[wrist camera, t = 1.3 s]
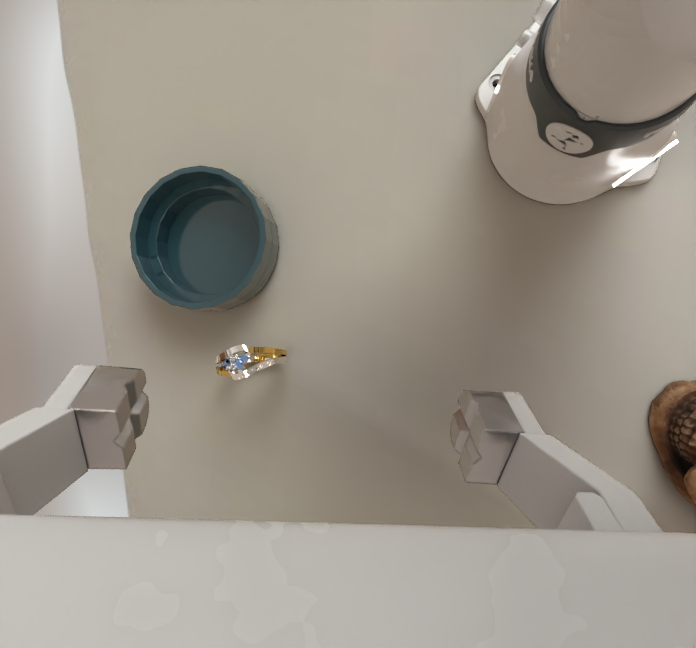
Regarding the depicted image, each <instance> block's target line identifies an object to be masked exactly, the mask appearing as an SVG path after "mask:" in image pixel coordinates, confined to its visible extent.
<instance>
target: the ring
mask: <svg viewBox="0 0 696 648" xmlns="http://www.w3.org/2000/svg"><path fill="white" fill-rule="evenodd" d="M240 352H245V353H246V355H240V354H237V353H240ZM234 355H235V356H234ZM286 361H287V352H286V351H285V350H282V349H276V348H263V347H248V346H246V345H237V346H234V347H232V348H230V349H228V350H226V351H225V352H223V353H222V354H220V355H219V356H217V357H216V358H215V364H218V366H217V367H216V371H217V374H218V375H221V376H227V377H231V378H232V379H234V380H240V379H243V378H245V377H248V376H249V375H251V374H253V373H255V372H257V371H259V370H262V369H264V368H266V367H269V366H272V365H275V364H278V363H282V362H286ZM253 362H258V363H257V364H255V365H253V366H251V367H249V368H247V369H245V365H244V364H245V363H253ZM238 370H239V371H238ZM236 371H238V372H236Z"/></svg>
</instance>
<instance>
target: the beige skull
mask: <svg viewBox="0 0 696 648" xmlns="http://www.w3.org/2000/svg"><path fill="white" fill-rule="evenodd" d="M649 426H650V432H651V435H652V438H653V441H654V444H655V447H656V449H657V451H658V453H659V454H660V458H661V461H662V464H663V467H664V469H665V470H666V471H667V473H668V474H669V476H670V478H671V480H672V482H673V484H674V486H675V488H676V489H677V490H678V491H679V492H680V493H681V494H682V495H683V496H684V497H685V498H686V499H687V500H688V501H690V502H691V503H693V504H694V505H695V506H696V381H691V382H687V381H678V382H673V383H670V384H668V386H667V387H666V388H665V389H664V391H663V392H661V393H660V394H659V395H658V396H657V397H656V398H655V400H654V401H653V402H652V406H651V413H650V416H649Z"/></svg>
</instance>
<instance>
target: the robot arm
mask: <svg viewBox="0 0 696 648" xmlns="http://www.w3.org/2000/svg"><path fill="white" fill-rule="evenodd" d="M533 19H534V21H535V22H534V23H533V24H532V25H531V27H530V28H529V29H526V30H525V31H524V32H523V33H522V35H521V36H520V38H519V39H518V41H517V43H516V44H515V45H514V46H513V48H512V49H511V50H510V51H509V52H508V53H507V55H506V56H505V57H504V58H503V59H502V60H501V62H500V63H499V64H498V65H497V66H496V67H495V69H494V70H493V71H492V72H491V73H490V74H489V75H488V77H487V78H486V79H485V80H484V81H483V82H482V84H481V85H480V86H479V88H478V90H477V92H476V95H475V100H476V104H477V106H478V108H479V110H480V112H481V114H482V116H483V118H484V120H485V122H486V127H487V141H488V148H489V153H490V156H491V159H492V161H493V164H494V166H495V168H496V169H497V171H498V173H499V174H500V175H501V177H502V178H503V179H504V180H505V181H506V182H507V183H508V184H509V185H510V186H511V187H512V188H513V189H515V190H516V191H518V192H519V193H521V194H522V195H524V196H526V197H528V198H531V199H533V200H536V201H539V202H544V203H549V204H571V203H577V202H581V201H585V200H588V199H591V198H593V197H595V196H597V195H599V194H601V193H603V192H605V191H607V190H610V189H612V188H615V187H622V186H633V185H639V184H643V183H645V182H647V181H648V180H649V179H650V178H651V177H653V176H654V174H655V173H656V171H657V168H658V165H659V163H660V160H661V157H662V154H663V153H664V152H665V151H667V150H668V149H670V148H671V147H672V146H674V145H675V144H677V143H678V142H679V141H678V140H677V139H676V140H675V141H673V140H674V138H675V137H676V132H675V131H674V130H675V128H676V126H677V124H678V121H679V118H680V116H681V115H682V114H683V113H684V112H685V111H686V110H687V109H688V108H689V107H690V106H691V105H692V104H693V102H694V101H695V100H696V0H543V1H542V3H541V4H540V6H539V7H538V9H537V11H536V13H535V15H534V17H533ZM494 83H498V84H497V86H496V88H495V87H493V85H492V84H494ZM672 141H673V142H672ZM671 142H672V143H671ZM145 384H146V377H145V372H144V371H143V370H142V369H135V368H123V367H112V366H97V365H83V364H78V365H75V366H73V367H72V369H71V370H70V371H69V372H68V374H67V375H66V376H65V378H64V379H63V380H62V382H61V383H60V384H59V386H58V387H57V388H56V390H55V391H54V392H53V393H52V395H51V396H50V397H49V399H48V400H47V401H46V403H45V404H44V405H43V407H42V408H33V409H31V410H29V411H27V412H25V413H23V414H21V415H18V416H16V417H15V418H12V419H10V420H8V421H6V422H4V423H2V424H1V425H0V648H696V533H679V532H663V531H662V529H661V528H660V527H659V525H658V524H657V522H656V521H655V520H654V518H653V517H652V515H651V514H650V513H649V511H648V510H647V508H646V507H645V506H644V504H643V503H642V501H641V500H640V499H639V497H638V496H637V494H636V493H635V492H633V491H632V490H630V489H629V488H627V487H626V486H624V485H623V484H622V483H620V482H619V481H617V480H616V479H614V478H613V477H611V476H610V475H608V474H607V473H605V472H604V471H603V470H601V469H600V468H598V467H597V466H595V465H594V464H592V463H591V462H589V461H588V460H586V459H585V458H584V457H582V456H581V455H579V454H578V453H576V452H575V451H573V450H572V449H570V448H569V447H568V446H566V445H565V444H563V443H562V442H560V441H559V440H557V439H556V438H554V437H553V436H551V435H545V433H544V432H543V430H542V428H541V427H540V425H539V423H538V422H537V420H536V418H535V417H534V415H533V413H532V412H531V410H530V408H529V407H528V405H527V403H526V402H525V400H524V398H523V397H522V395H521V394H520V393H518V392H501V391H500V392H491V391H474V390H463V391H462V392H461V394H460V396H459V399H458V403H459V406H460V410H458V411H457V412H456V413H454V415H453V418H452V422H451V430H450V435H451V442H452V445H453V448H454V450H456V451H457V452H458V453H459V454H460V455H461V456H460V459H459V462H458V463H459V465H460V468H461V471H462V474H463V477H464V480H465V483H478V484H493V485H497V487H498V488H499V489H500V490H501V491H502V492H503V493H504V494H505V495H506V496H507V497H508V498H509V499H510V500H511V501H512V503H513V504H514V505H515V506H516V507H517V508H518V509H519V510H520V511H521V512H522V513H523V514H524V515H525V516H526V517H527V518H528V519H529V520H530V521H531V522H532V523H533V524H534V525H535V526H536V527H537V529H533V528H492V527H453V526H419V525H385V524H351V523H313V522H275V521H238V520H201V519H164V518H127V517H125V518H124V517H90V516H54V515H53V516H51V515H34V514H35V513H36V512H38V511H39V510H40V509H41V508H42V507H44V506H45V505H46V504H47V503H49V502H50V501H51V500H52V499H53V498H55V497H56V496H57V495H59V494H60V493H61V492H62V491H64V490H65V489H66V488H67V487H69V486H70V485H71V484H72V483H74V482H75V481H76V480H77V479H78V478H80V477H81V476H82V475H83V474H85V473H86V472H87V471H88V469H127V467H128V465H129V463H130V460H131V458H132V456H133V454H134V452H135V449H136V443H135V439H136V438H137V437H139V436H140V435H142V434H143V431H144V429H145V427H146V424H147V419H148V414H149V400H148V396H147V395H146V394H145V393H144V392H143V391H142V390H143V388H144V386H145Z"/></svg>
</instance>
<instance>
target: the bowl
mask: <svg viewBox="0 0 696 648" xmlns="http://www.w3.org/2000/svg"><path fill="white" fill-rule="evenodd" d="M130 240H131V252H132V259H133V261H134V264H135V266H136V269H137V271H138V274H139V276H140V278H141V279H142V280H143V281H144V283H145V284H146V285H147V286H148V287H149V289H150V290H151V291H152V292H153V293H154V294H155V295H157V296H158V297H160V298H162V299H163V300H165V301H166V302H168V303H170V304H172V305H175V306H180V307H184V308H188V309H195V310H204V311H218V310H227V309H232V308H234V307H236V306H238V305H240V304H243V303H245V302H247V301H249V300H250V299H251V298H252V297H253V296H254V295H255V294H256V293H258V292H259V291H260V290H261V289H262V288H263V287H264V286H265V284H266V282H267V280H268V279H269V277H270V275H271V273H272V272H273V270H274V268H275V263H276V259H277V254H278V249H279V244H278V233H277V226H276V223H275V221H274V219H273V216H272V214H271V212H270V209H269V207H268V206H267V205H266V204H265V203H264V202H263V201H262V200H261V198H260V197H259V196H258V195H257V194H256V193H255V192H254V191H253V190H252V189H251V188H249V187H248V186H247V185H246V184H245V183H244V182H243V181H241V180H240V179H239V178H237V177H235V176H233V175H231V174H230V173H228V172H226V171H224V170H223V169H218V168H212V167H207V166H195V167H189V168H182V169H179V170H177V171H175V172H173V173H171V174H169V175H167V176H165V177H163V178H161V179H160V180H159V181H158V182H157V183H156V184H155V185H154V186H153V187H152V188H151V189H150V190H149V191H148V192H147V193H146V194H145V195H144V197H143V199H142V201H141V203H140V204H139V206H138V208H137V210H136V212H135V214H134V219H133V224H132V228H131V233H130Z"/></svg>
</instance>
